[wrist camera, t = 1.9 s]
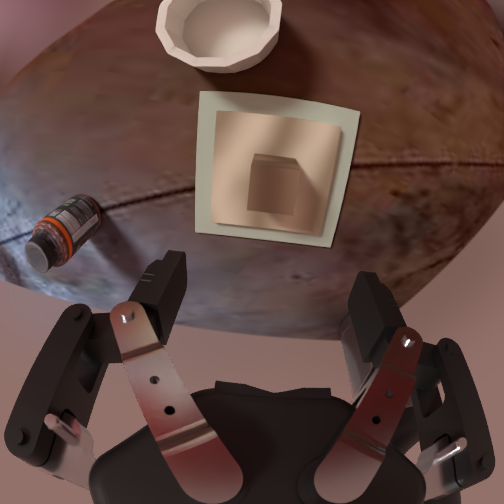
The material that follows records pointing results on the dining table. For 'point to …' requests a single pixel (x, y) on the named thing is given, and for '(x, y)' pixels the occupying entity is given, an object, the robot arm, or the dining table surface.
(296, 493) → the robot arm
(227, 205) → the lid
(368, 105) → the dining table surface
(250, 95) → the mat
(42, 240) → the supplement bottle
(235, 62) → the bowl
